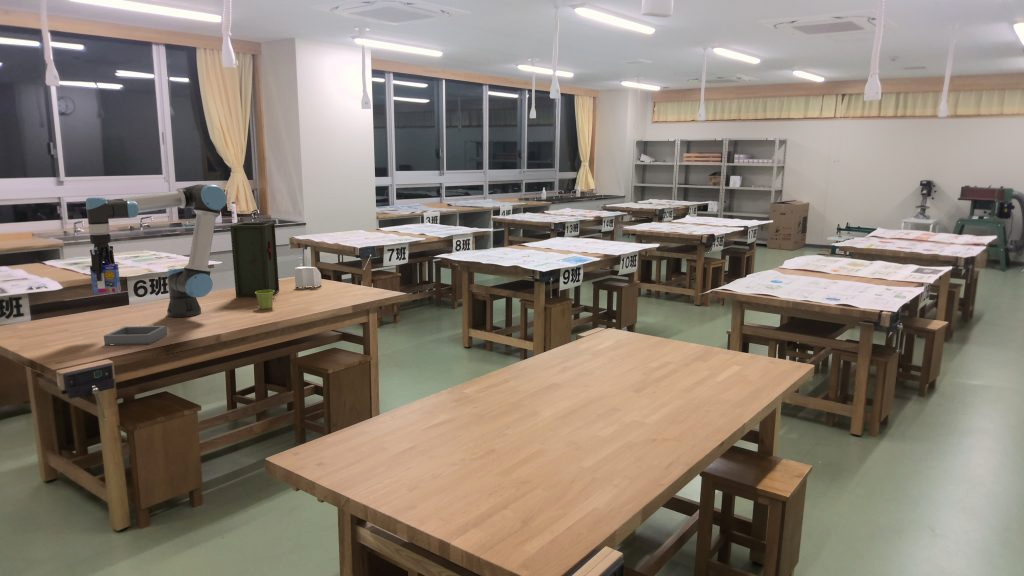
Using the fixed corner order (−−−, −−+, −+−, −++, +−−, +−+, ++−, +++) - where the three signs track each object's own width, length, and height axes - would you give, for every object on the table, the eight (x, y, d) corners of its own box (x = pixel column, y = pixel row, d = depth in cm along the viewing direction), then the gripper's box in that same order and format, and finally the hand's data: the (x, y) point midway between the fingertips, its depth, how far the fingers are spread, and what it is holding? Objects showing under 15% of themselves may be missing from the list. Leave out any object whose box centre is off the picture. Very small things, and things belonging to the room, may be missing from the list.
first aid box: (247, 291, 390) (241, 222, 382) (279, 290, 391) (274, 222, 383) (236, 297, 371) (230, 225, 364) (269, 297, 372) (264, 225, 365)
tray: (125, 335, 290) (124, 326, 290) (167, 334, 291) (166, 325, 290) (104, 345, 275) (103, 335, 274) (149, 344, 275) (148, 335, 275)
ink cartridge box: (92, 294, 286) (88, 260, 284) (95, 292, 291) (91, 259, 289) (118, 292, 289) (114, 259, 287) (121, 290, 294) (117, 258, 292)
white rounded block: (295, 288, 400) (294, 268, 398) (306, 284, 410) (304, 265, 408) (311, 288, 397) (310, 268, 395) (321, 285, 408) (320, 266, 405)
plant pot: (265, 310, 338) (264, 293, 337) (252, 308, 342) (250, 292, 341) (279, 307, 346) (278, 290, 345) (266, 305, 351) (265, 289, 349)
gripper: (103, 231, 295) (109, 283, 299) (77, 236, 276) (84, 291, 280) (120, 231, 295) (126, 282, 299) (96, 236, 276) (102, 290, 280)
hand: (106, 286), depth 290 cm, fingers closed on ink cartridge box, 6 cm apart
